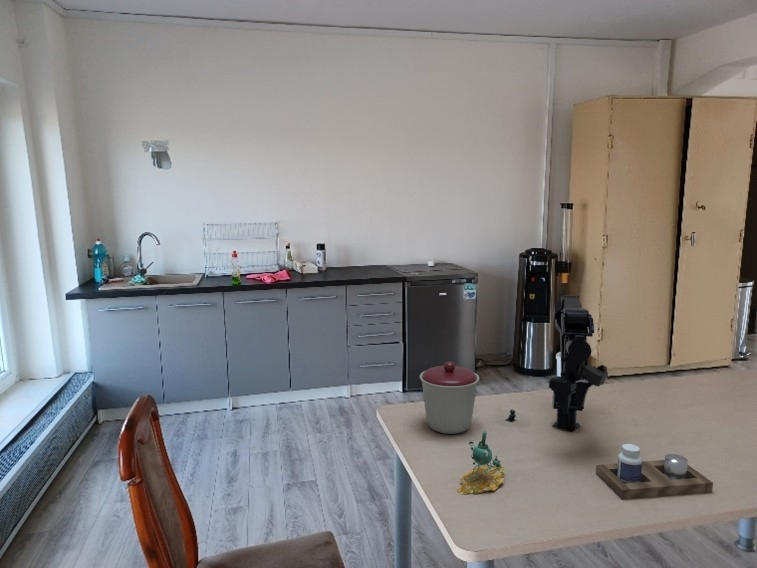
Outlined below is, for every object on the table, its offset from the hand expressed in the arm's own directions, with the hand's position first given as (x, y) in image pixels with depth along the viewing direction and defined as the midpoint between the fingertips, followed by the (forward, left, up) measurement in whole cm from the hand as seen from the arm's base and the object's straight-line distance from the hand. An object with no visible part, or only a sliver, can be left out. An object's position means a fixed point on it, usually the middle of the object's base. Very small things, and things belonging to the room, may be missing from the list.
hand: (573, 409), depth 150 cm
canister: (+10, -35, -12) cm, 38 cm away
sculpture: (-8, -22, -12) cm, 27 cm away
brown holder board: (+6, +22, -12) cm, 26 cm away
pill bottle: (+10, +18, -12) cm, 24 cm away
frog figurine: (+31, -10, -12) cm, 35 cm away
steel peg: (+1, +26, -12) cm, 29 cm away
